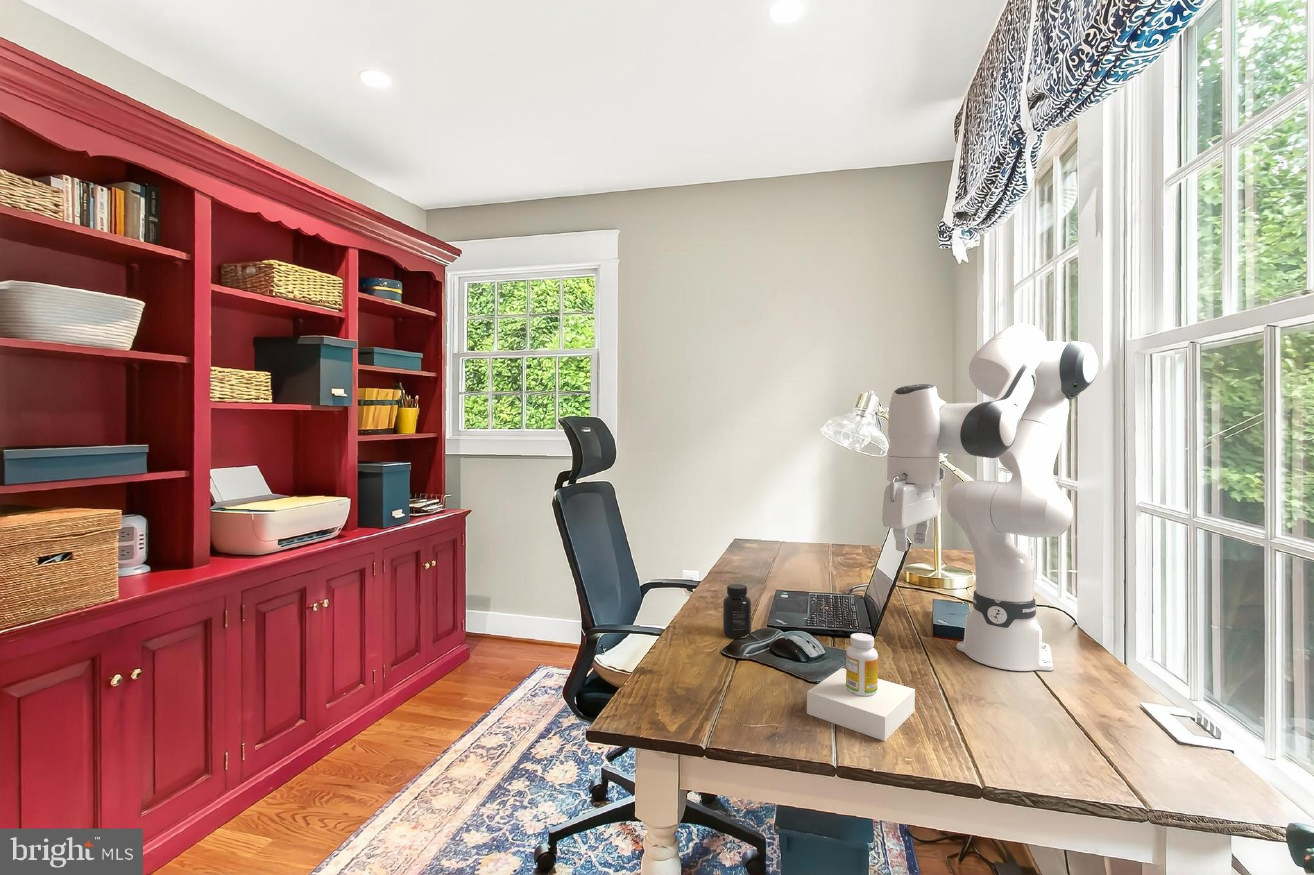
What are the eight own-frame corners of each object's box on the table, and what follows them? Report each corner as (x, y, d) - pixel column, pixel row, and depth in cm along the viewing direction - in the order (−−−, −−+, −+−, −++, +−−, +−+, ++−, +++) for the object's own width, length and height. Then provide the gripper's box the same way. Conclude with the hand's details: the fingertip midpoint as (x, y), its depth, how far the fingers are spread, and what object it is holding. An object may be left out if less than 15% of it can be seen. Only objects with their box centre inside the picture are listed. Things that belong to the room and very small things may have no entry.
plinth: (841, 688, 119) (841, 667, 119) (914, 710, 110) (915, 689, 110) (806, 713, 109) (807, 691, 109) (884, 741, 99) (885, 717, 99)
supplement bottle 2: (877, 686, 111) (878, 633, 111) (877, 698, 106) (878, 643, 106) (846, 681, 113) (847, 629, 112) (845, 694, 108) (845, 639, 107)
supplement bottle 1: (755, 633, 150) (756, 585, 149) (744, 641, 144) (744, 591, 144) (730, 628, 153) (730, 581, 153) (718, 636, 148) (718, 587, 147)
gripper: (910, 477, 102) (908, 558, 103) (947, 470, 118) (946, 541, 118) (873, 474, 107) (872, 553, 107) (914, 468, 122) (912, 536, 122)
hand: (911, 546), depth 113 cm, fingers open, 8 cm apart
